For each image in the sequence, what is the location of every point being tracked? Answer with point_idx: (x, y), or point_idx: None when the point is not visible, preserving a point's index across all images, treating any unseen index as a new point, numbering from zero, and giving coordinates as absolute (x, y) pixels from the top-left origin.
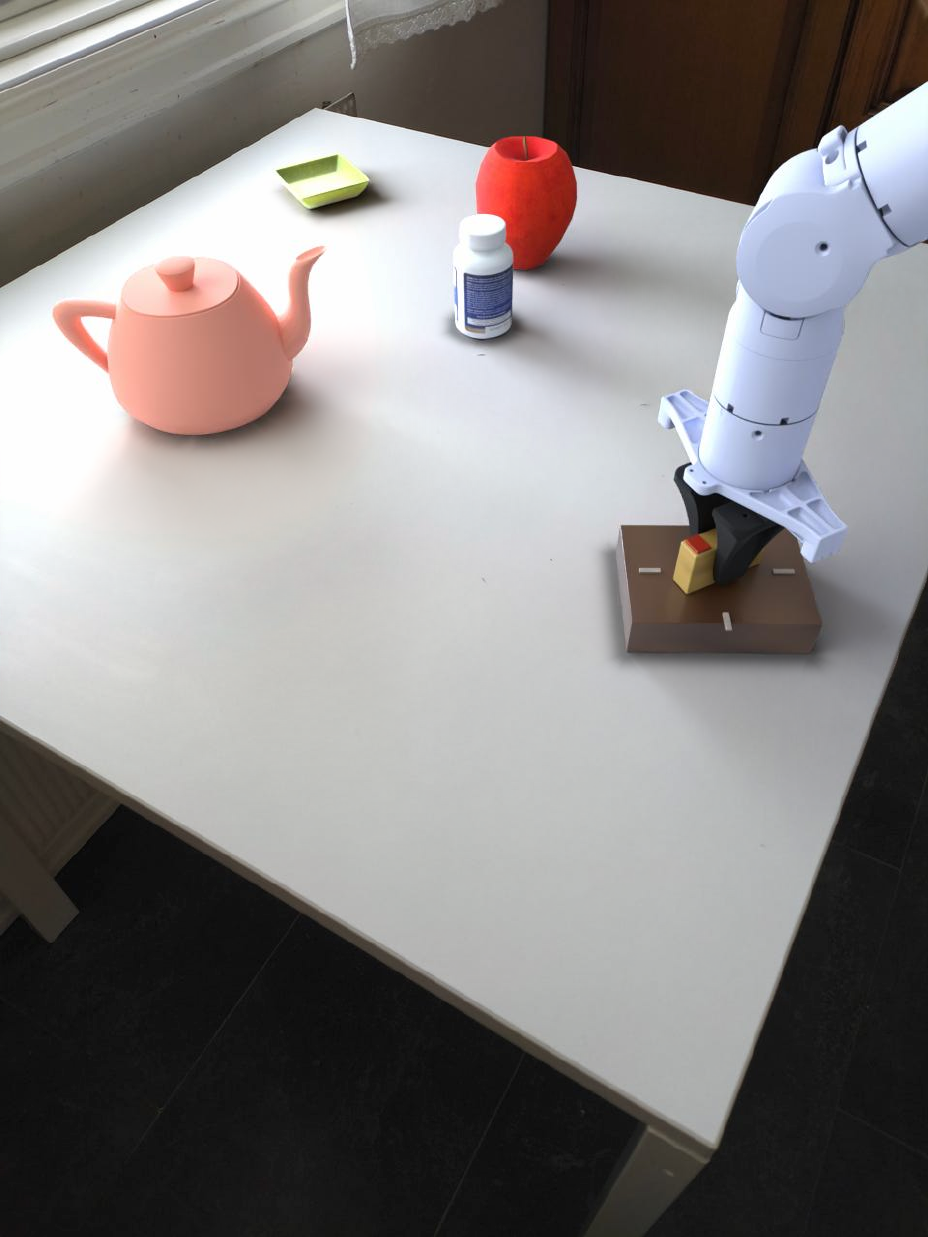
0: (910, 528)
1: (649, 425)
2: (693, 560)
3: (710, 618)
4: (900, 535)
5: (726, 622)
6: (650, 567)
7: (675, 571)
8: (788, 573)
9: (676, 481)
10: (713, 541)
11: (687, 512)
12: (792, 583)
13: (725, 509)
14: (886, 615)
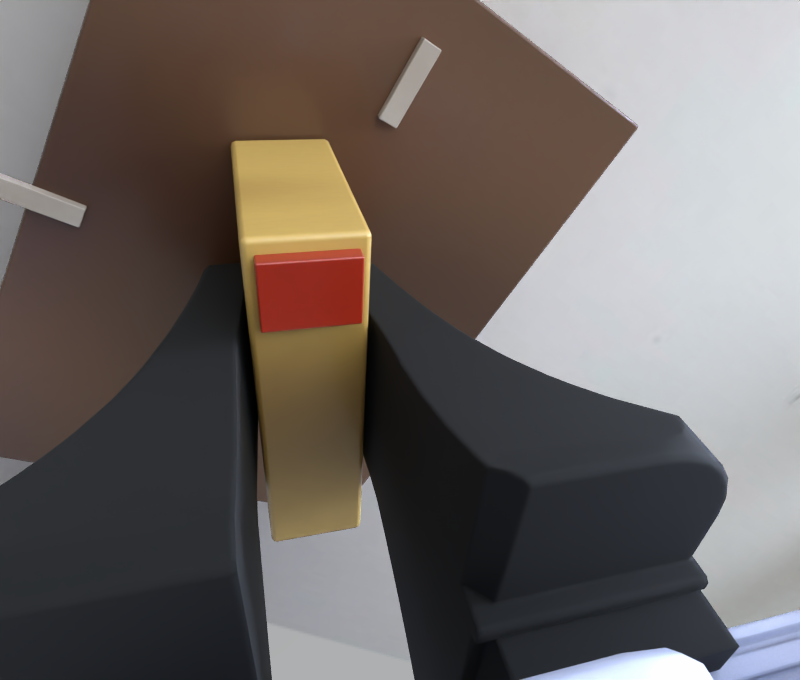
0: (273, 615)
1: (761, 381)
2: (251, 223)
3: (78, 151)
4: (266, 601)
5: (24, 192)
6: (422, 99)
7: (328, 155)
8: None
9: (657, 429)
10: (297, 355)
11: (480, 346)
12: None
13: (193, 627)
14: None
